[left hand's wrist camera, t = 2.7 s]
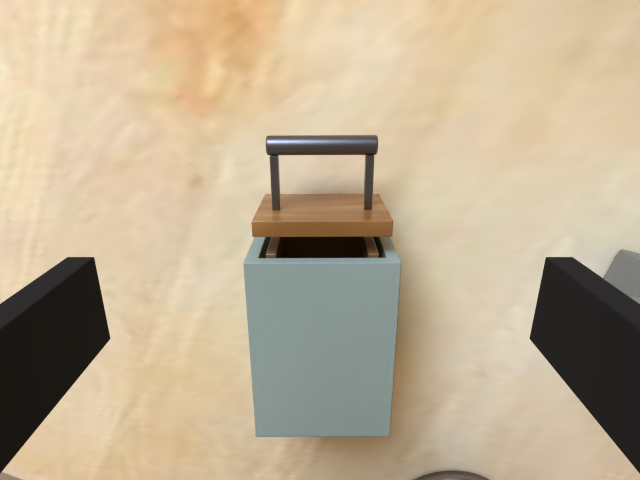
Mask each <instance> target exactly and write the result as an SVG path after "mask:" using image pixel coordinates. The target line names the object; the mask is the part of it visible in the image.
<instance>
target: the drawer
mask: <svg viewBox="0 0 640 480" xmlns="http://www.w3.org/2000/svg"><path fill="white" fill-rule="evenodd" d="M377 151H378V137H377V136H376V135H321V136H267V137H266V152H267V155H270V171H271V193H272V194H265V196H264V198H263V200H262V202H261V204H260V206H259V208H258V210H257V212H256V214H255V216H254V218H253V220H252V236H253V237H271V240H270V243H269V246H268V249H267V252H266V258H379V253H378V250H377V247H376V244H375V241H374V238H373V237H391V236H392V228H393V221H392V219H391V217H390V215H389V213H388V211H387V209H386V207H385V205H384V203H383V201H382V199H381V198H380V196H379V194H373V172H374V155H376V154H377ZM279 155H365V181H364V194H280V181H279Z"/></svg>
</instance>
